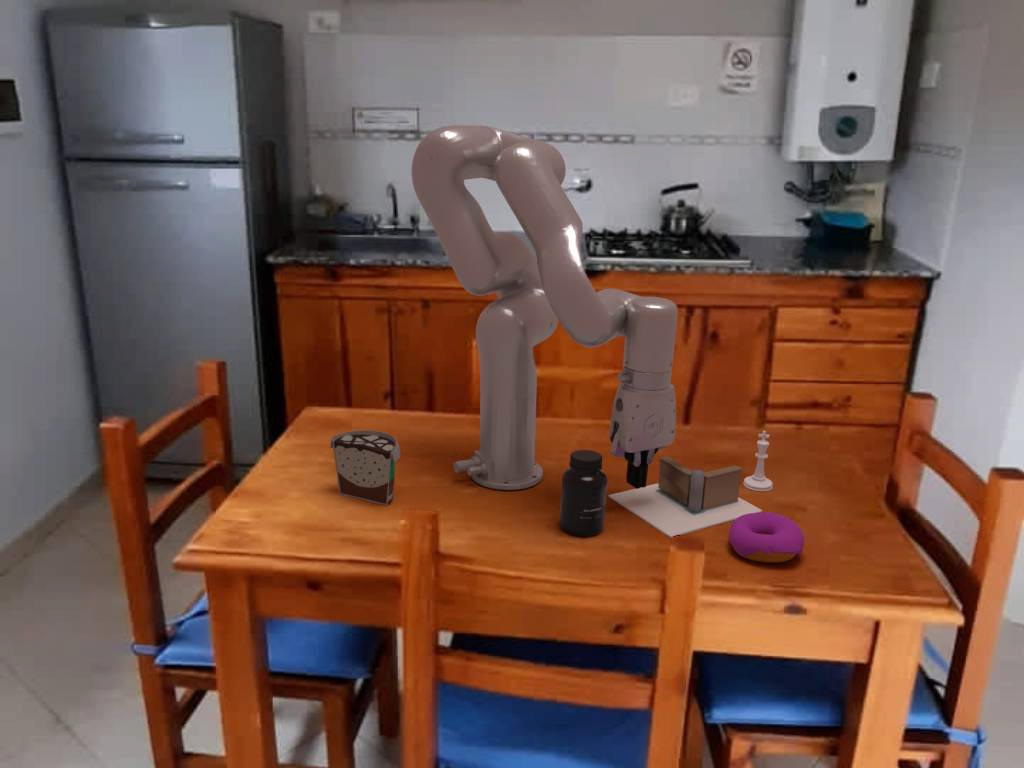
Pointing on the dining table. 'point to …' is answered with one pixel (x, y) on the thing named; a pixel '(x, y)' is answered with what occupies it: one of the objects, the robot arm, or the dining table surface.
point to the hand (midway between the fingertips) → (635, 484)
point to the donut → (766, 537)
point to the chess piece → (759, 468)
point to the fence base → (675, 512)
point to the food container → (366, 464)
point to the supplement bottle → (583, 494)
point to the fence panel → (675, 479)
